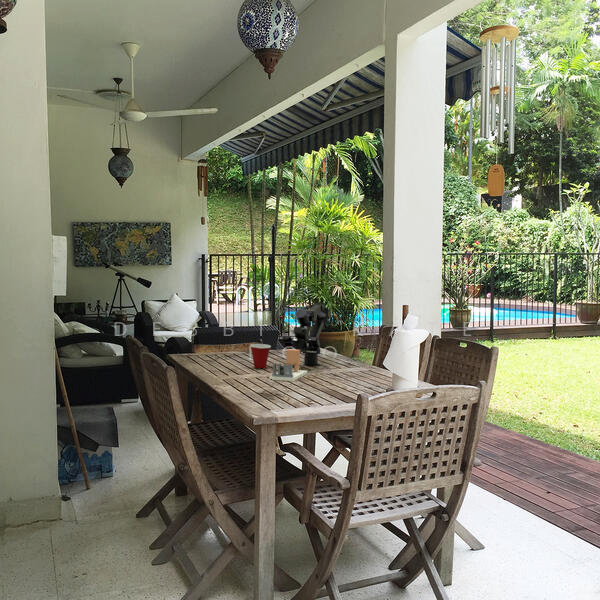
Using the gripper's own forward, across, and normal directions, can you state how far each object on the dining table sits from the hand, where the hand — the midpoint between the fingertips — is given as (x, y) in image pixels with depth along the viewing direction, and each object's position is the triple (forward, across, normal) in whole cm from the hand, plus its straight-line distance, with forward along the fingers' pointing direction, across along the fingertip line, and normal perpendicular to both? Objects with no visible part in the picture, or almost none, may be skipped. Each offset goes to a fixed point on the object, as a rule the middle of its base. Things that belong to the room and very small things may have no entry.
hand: (296, 355), depth 318 cm
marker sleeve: (+8, 0, +1) cm, 9 cm away
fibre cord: (+13, 0, -4) cm, 14 cm away
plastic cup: (+2, -22, +11) cm, 24 cm away
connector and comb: (+18, 0, -8) cm, 19 cm away
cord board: (+14, 0, -2) cm, 14 cm away
